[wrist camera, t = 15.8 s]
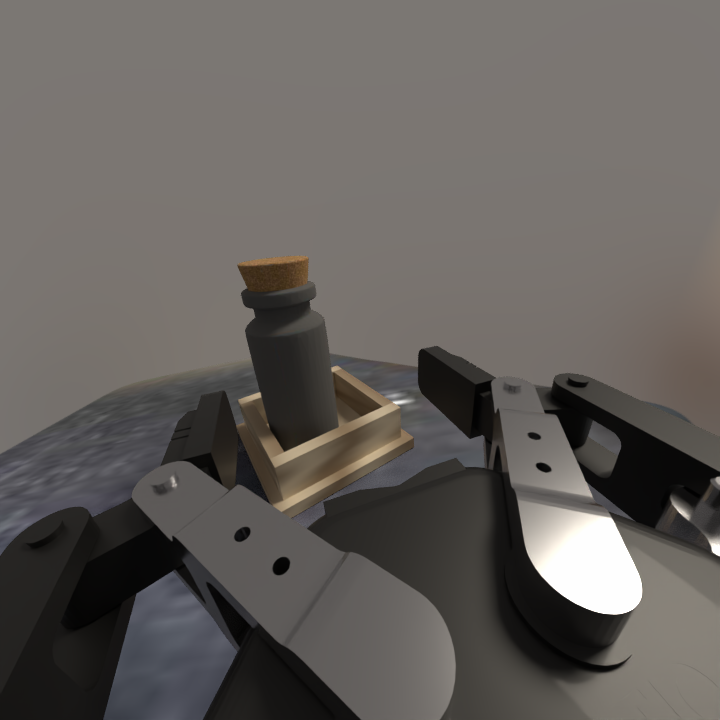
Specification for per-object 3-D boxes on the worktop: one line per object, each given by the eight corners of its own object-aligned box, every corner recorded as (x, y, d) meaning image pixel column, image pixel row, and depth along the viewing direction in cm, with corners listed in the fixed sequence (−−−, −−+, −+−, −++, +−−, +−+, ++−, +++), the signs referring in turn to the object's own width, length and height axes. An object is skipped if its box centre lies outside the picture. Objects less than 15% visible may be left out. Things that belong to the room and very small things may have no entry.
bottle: (334, 411, 29) (312, 252, 23) (345, 450, 24) (320, 258, 18) (274, 423, 28) (234, 260, 22) (272, 466, 23) (219, 269, 17)
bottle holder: (279, 524, 19) (266, 480, 18) (238, 433, 29) (227, 399, 27) (413, 447, 25) (413, 408, 23) (343, 392, 34) (339, 361, 33)
